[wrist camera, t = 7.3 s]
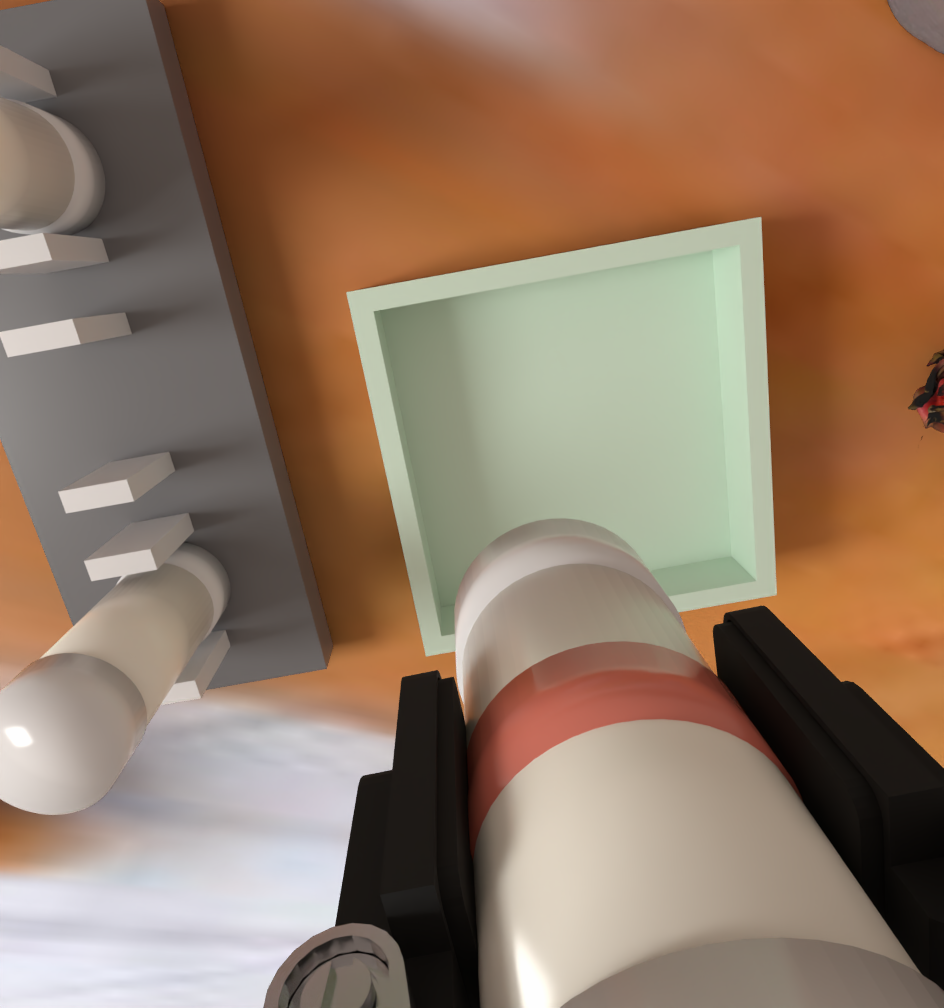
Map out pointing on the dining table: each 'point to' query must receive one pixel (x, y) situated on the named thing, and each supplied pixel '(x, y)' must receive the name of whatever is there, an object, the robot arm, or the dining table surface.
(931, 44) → the pillar candle
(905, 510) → the dining table surface
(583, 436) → the tray
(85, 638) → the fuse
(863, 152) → the dining table surface
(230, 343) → the fuse holder
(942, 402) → the dark red rosette
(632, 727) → the cylinder
